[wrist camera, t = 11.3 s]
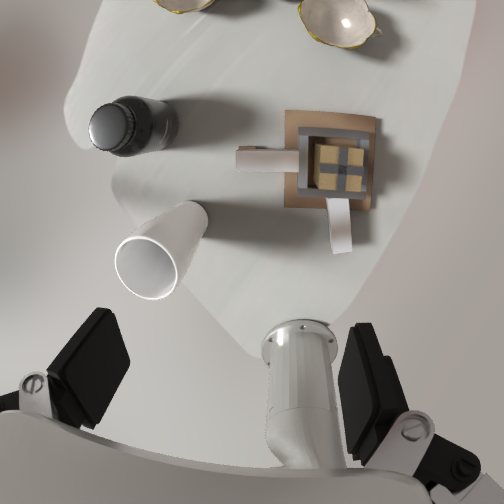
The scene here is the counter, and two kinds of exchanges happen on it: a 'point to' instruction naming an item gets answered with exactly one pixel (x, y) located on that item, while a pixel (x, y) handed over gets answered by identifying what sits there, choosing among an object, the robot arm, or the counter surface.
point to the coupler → (337, 167)
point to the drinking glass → (161, 251)
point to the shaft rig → (301, 161)
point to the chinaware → (314, 19)
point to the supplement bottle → (133, 126)
